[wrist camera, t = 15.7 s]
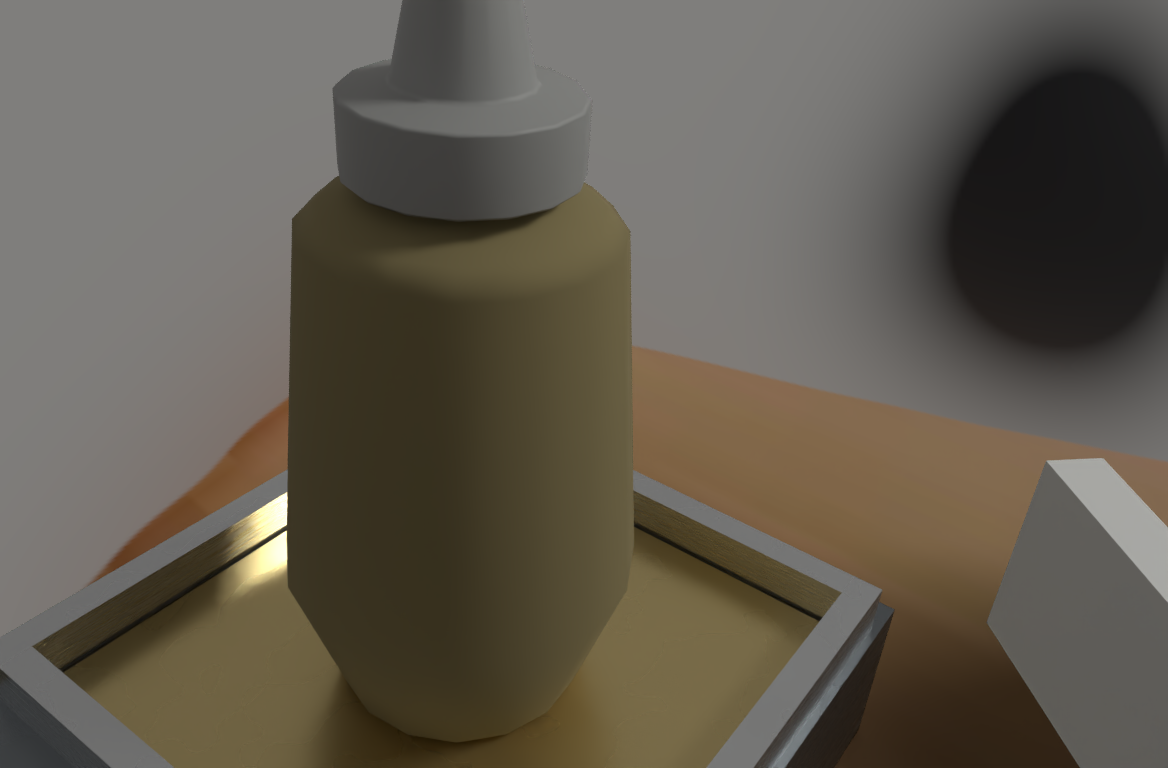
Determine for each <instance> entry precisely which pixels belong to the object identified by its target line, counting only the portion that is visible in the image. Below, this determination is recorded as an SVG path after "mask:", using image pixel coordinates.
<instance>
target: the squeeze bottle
mask: <svg viewBox="0 0 1168 768" xmlns="http://www.w3.org/2000/svg"><path fill="white" fill-rule="evenodd" d="M333 103H334V119H335V134H336V150H337V164H338V170H339V176H337V177H336V178H334V179H333V180H332V181H331V182H330V183H328V184H327V185H326V186H325V187H324V188H322V189H321V190H320V191H319V192H318V193H317V194H315V195H314V196H313V197H312V198H311V200H310V201H309V202H308V203H307V204H306V205H305V206H304V207H303V208H302V209H301V210H300V211H299V212H298V214H296V215H295V216H294V218H293V219H292V258H291V259H292V260H291V316H290V372H289V426H288V482H287V538H286V541H287V575H288V588H289V590H290V591H291V593H292V595H293V596H294V598H295V599H296V601H297V603H298V604H299V606H300V607H301V609H302V611H303V612H304V614H305V615H306V617H307V619H308V620H309V622H310V623H311V625H312V627H313V628H314V630H315V631H316V633H317V634H318V636H319V638H320V639H321V641H322V642H323V644H324V646H325V647H326V649H327V650H328V652H329V654H330V655H331V657H332V658H333V660H334V662H335V663H336V665H337V666H338V668H339V670H340V671H341V673H342V674H343V676H344V677H345V679H346V681H347V682H348V683H349V685H350V686H351V688H352V689H353V691H354V692H355V694H356V695H357V696H358V698H359V699H360V701H361V702H362V704H363V705H364V706H365V708H366V709H367V711H368V712H369V713H371V714H372V715H374V716H376V717H378V718H379V719H381V720H383V721H385V722H386V723H388V724H390V725H392V726H393V727H395V728H397V729H399V730H400V731H402V732H404V733H406V734H407V735H413V736H419V737H425V738H431V739H437V740H443V741H450V742H456V743H457V742H464V741H470V740H476V739H482V738H488V737H494V736H500V735H506V734H508V733H510V732H512V731H514V730H515V729H517V728H519V727H521V726H523V725H525V724H526V723H528V722H530V721H532V720H534V719H536V718H537V717H539V716H541V715H543V714H545V713H547V712H548V710H549V709H550V708H551V707H552V705H553V704H554V703H555V702H556V700H557V699H558V698H559V697H560V695H561V694H562V693H563V692H564V690H565V689H566V688H567V687H568V686H569V684H570V683H571V682H572V680H573V679H574V677H575V675H576V674H577V672H578V670H579V669H580V667H581V665H582V664H583V662H584V660H585V659H586V657H587V656H588V654H589V652H590V651H591V649H592V647H593V646H594V644H595V642H596V641H597V639H598V637H599V636H600V634H601V632H602V631H603V629H604V627H605V626H606V624H607V622H608V621H609V619H610V617H611V616H612V614H613V612H614V611H615V609H616V608H617V606H618V604H619V603H620V601H621V599H622V598H623V596H624V594H625V593H626V591H627V586H628V580H629V573H630V567H631V561H632V554H633V548H634V504H633V420H632V339H631V337H632V336H631V255H630V254H631V252H630V230H629V229H628V227H627V226H626V224H625V223H624V221H623V220H622V218H621V217H620V215H619V214H618V212H617V211H616V209H615V208H614V206H613V205H612V204H611V203H610V202H608V201H607V200H606V199H605V198H604V197H603V196H602V195H601V194H600V193H599V192H597V191H596V190H595V189H594V188H593V187H591V186H590V185H588V184H586V183H584V181H585V178H586V176H587V170H588V157H589V140H590V126H591V113H592V99H591V98H590V97H589V96H588V94H587V93H586V92H585V90H583V88H582V87H581V85H580V84H579V83H578V82H577V81H576V80H574V79H572V78H570V77H567V76H565V75H563V74H561V73H559V72H556V71H555V70H552V69H550V68H546V67H542V66H538V65H535V63H534V57H533V52H532V46H531V40H530V35H529V28H528V22H527V16H526V11H525V6H524V0H403V1H402V6H401V12H400V17H399V23H398V28H397V34H396V39H395V45H394V50H393V55H392V59H390V60H383V61H380V62H377V63H373V64H370V65H367V66H364V67H361V68H358V69H355V70H352V71H351V72H350V73H349V74H347V75H346V76H345V77H344V78H343V79H341V80H340V81H339V82H338V83H337V84H336V85H335V86H334V87H333Z"/></svg>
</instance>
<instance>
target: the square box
mask: <svg viewBox="0 0 1168 768" xmlns="http://www.w3.org/2000/svg"><path fill="white" fill-rule="evenodd" d="M287 482H288V469H287V470H286V471H284V472H282V473H281V474H279V475H277V476H275V477H274V478H272V479H270V480H269V481H267V482H265V483H264V484H262V485H260V486H258V487H257V488H255V489H253V490H252V491H250V492H248V493H246V494H245V495H243V496H241V497H240V498H238V499H236V500H234V501H233V502H231V503H229V504H228V505H226V506H224V507H222V508H221V509H219V510H217V511H216V512H214V513H212V514H210V515H209V516H207V517H205V518H204V519H202V520H200V521H198V522H197V523H195V524H193V525H192V526H190V527H188V528H187V529H185V530H183V531H181V532H180V533H178V534H176V535H175V536H173V537H171V538H169V539H168V540H166V541H164V542H163V543H161V544H159V545H157V546H156V547H154V548H152V549H151V550H149V551H147V552H145V553H144V554H142V555H140V556H139V557H137V558H135V559H133V560H132V561H130V562H128V563H127V564H125V565H123V566H121V567H120V568H118V569H116V570H115V571H113V572H111V573H110V574H108V575H106V576H104V577H103V578H101V579H99V580H98V581H96V582H94V583H92V584H91V585H89V586H87V587H86V588H84V589H82V590H80V591H79V592H77V593H76V594H74V595H72V596H70V597H68V598H67V599H65V600H63V601H62V602H60V603H58V604H56V605H55V606H53V607H51V608H50V609H48V610H46V611H44V612H43V613H41V614H39V615H38V616H36V617H34V618H33V619H31V620H29V621H27V622H26V623H24V624H22V625H21V626H19V627H17V628H16V629H14V630H12V631H10V632H9V633H7V634H5V635H3V636H2V637H0V768H834V767H835V765H836V764H837V762H838V760H839V759H840V757H841V756H842V754H843V753H844V751H845V750H846V748H847V746H848V745H849V743H850V742H851V740H852V739H853V737H854V736H855V734H856V733H857V731H858V729H859V726H860V723H861V719H862V716H863V713H864V709H865V706H866V703H867V700H868V696H869V693H870V690H871V686H872V683H873V680H874V676H875V673H876V670H877V666H878V663H879V660H880V656H881V653H882V650H883V647H884V643H885V640H886V637H887V633H888V630H889V627H890V623H891V620H892V617H893V613H894V609H892V608H890V607H888V606H886V605H884V604H882V603H880V602H879V600H880V597H881V593H882V589H880V588H877V587H875V586H873V585H871V584H869V583H867V582H865V581H863V580H861V579H859V578H857V577H855V576H852V575H850V574H848V573H846V572H844V571H842V570H840V569H838V568H836V567H834V566H832V565H830V564H828V563H825V562H823V561H821V560H819V559H817V558H815V557H813V556H811V555H809V554H807V553H805V552H803V551H800V550H798V549H796V548H794V547H792V546H790V545H788V544H786V543H784V542H782V541H780V540H778V539H776V538H773V537H771V536H769V535H767V534H765V533H763V532H761V531H759V530H757V529H755V528H753V527H751V526H748V525H746V524H744V523H742V522H740V521H738V520H736V519H734V518H732V517H730V516H728V515H726V514H724V513H721V512H719V511H717V510H715V509H713V508H711V507H709V506H707V505H705V504H703V503H701V502H699V501H696V500H694V499H692V498H690V497H688V496H686V495H684V494H682V493H680V492H678V491H676V490H674V489H672V488H669V487H667V486H665V485H663V484H661V483H659V482H657V481H655V480H653V479H651V478H649V477H647V476H644V475H642V474H640V473H638V472H636V471H634V470H633V504H634V548H633V554H632V561H631V567H630V573H629V580H628V586H627V591H626V593H625V594H624V596H623V598H622V599H621V601H620V603H619V604H618V606H617V608H616V609H615V611H614V612H613V614H612V616H611V617H610V619H609V621H608V622H607V624H606V626H605V627H604V629H603V631H602V632H601V634H600V636H599V637H598V639H597V641H596V642H595V644H594V646H593V647H592V649H591V651H590V652H589V654H588V656H587V657H586V659H585V660H584V662H583V664H582V665H581V667H580V669H579V670H578V672H577V674H576V675H575V677H574V679H573V680H572V682H571V683H570V684H569V686H568V687H567V688H566V689H565V690H564V692H563V693H562V694H561V695H560V697H559V698H558V699H557V700H556V702H555V703H554V704H553V705H552V707H551V708H550V709H549V710H548V712H547V713H545V714H543V715H541V716H539V717H537V718H536V719H534V720H532V721H530V722H528V723H526V724H525V725H523V726H521V727H519V728H517V729H515V730H514V731H512V732H510V733H508V734H506V735H500V736H494V737H488V738H482V739H476V740H470V741H464V742H457V743H456V742H450V741H443V740H437V739H431V738H425V737H419V736H413V735H407V734H406V733H404V732H402V731H400V730H399V729H397V728H395V727H393V726H392V725H390V724H388V723H386V722H385V721H383V720H381V719H379V718H378V717H376V716H374V715H372V714H371V713H369V712H368V711H367V709H366V708H365V706H364V705H363V704H362V702H361V701H360V699H359V698H358V696H357V695H356V694H355V692H354V691H353V689H352V688H351V686H350V685H349V683H348V682H347V681H346V679H345V677H344V676H343V674H342V673H341V671H340V670H339V668H338V666H337V665H336V663H335V662H334V660H333V658H332V657H331V655H330V654H329V652H328V650H327V649H326V647H325V646H324V644H323V642H322V641H321V639H320V638H319V636H318V634H317V633H316V631H315V630H314V628H313V627H312V625H311V623H310V622H309V620H308V619H307V617H306V615H305V614H304V612H303V611H302V609H301V607H300V606H299V604H298V603H297V601H296V599H295V598H294V596H293V595H292V593H291V591H290V590H289V588H288V575H287V541H286V538H287Z"/></svg>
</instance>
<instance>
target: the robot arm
mask: <svg viewBox="0 0 1168 768" xmlns="http://www.w3.org/2000/svg"><path fill="white" fill-rule="evenodd" d="M987 624H988V625H989V627H990V629H991V630H992V632H993V633H994V635H995V636H996V638H997V639H998V641H999V643H1000V644H1001V646H1002V647H1003V649H1004V650H1005V652H1006V653H1007V655H1008V657H1009V658H1010V660H1011V661H1012V663H1013V664H1014V666H1015V667H1016V669H1017V671H1018V672H1019V674H1020V675H1021V677H1022V678H1023V680H1024V681H1025V683H1026V685H1027V686H1028V688H1029V689H1030V691H1031V692H1032V694H1033V695H1034V697H1035V699H1036V700H1037V702H1038V703H1039V705H1040V706H1041V708H1042V709H1043V711H1044V713H1045V714H1046V716H1047V717H1048V719H1049V720H1050V722H1051V724H1052V725H1053V727H1054V728H1055V730H1056V731H1057V733H1058V734H1059V736H1060V738H1061V739H1062V741H1063V742H1064V744H1065V745H1066V747H1067V748H1068V750H1069V752H1070V753H1071V755H1072V756H1073V758H1074V759H1075V761H1076V762H1077V764H1078V766H1079V767H1080V768H1168V527H1167V526H1166V525H1165V524H1164V523H1163V522H1162V521H1161V520H1160V519H1159V518H1158V517H1157V516H1156V514H1155V513H1154V512H1153V511H1152V510H1151V509H1150V508H1149V507H1148V506H1147V505H1146V504H1145V503H1144V502H1143V501H1142V499H1141V498H1140V497H1139V496H1138V495H1137V494H1136V493H1135V492H1134V491H1133V490H1132V489H1131V488H1130V487H1129V486H1128V484H1127V483H1126V482H1125V481H1124V480H1123V479H1122V478H1121V477H1120V476H1119V475H1118V474H1117V473H1116V472H1115V471H1114V470H1113V468H1112V467H1111V466H1110V465H1109V464H1108V463H1107V462H1106V461H1105V460H1104V459H1103V458H1096V459H1074V460H1052V461H1046V463H1045V466H1044V468H1043V471H1042V474H1041V476H1040V479H1039V482H1038V485H1037V487H1036V490H1035V493H1034V495H1033V498H1032V501H1031V504H1030V506H1029V509H1028V512H1027V514H1026V517H1025V520H1024V523H1023V525H1022V528H1021V531H1020V533H1019V536H1018V539H1017V541H1016V544H1015V547H1014V550H1013V552H1012V555H1011V558H1010V560H1009V563H1008V566H1007V569H1006V571H1005V574H1004V577H1003V579H1002V582H1001V585H1000V588H999V590H998V593H997V596H996V598H995V601H994V604H993V607H992V609H991V612H990V615H989V617H988V620H987Z"/></svg>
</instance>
